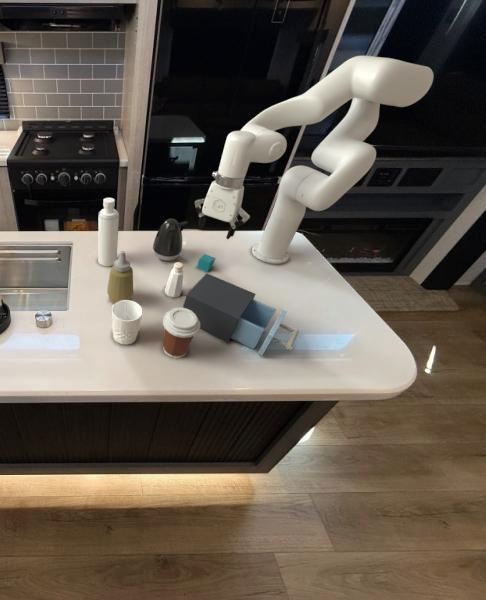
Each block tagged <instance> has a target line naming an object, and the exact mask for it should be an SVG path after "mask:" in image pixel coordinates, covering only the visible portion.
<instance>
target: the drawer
mask: <svg viewBox="0 0 486 600" xmlns="http://www.w3.org/2000/svg"><path fill="white" fill-rule="evenodd" d="M276 310H277V308H274V307H272V306H270V305H267V304H265V303H262V302H260V301H258V300H256V299H252V301H251V302H250V304H249V305H248V307H247V308H246V310H245V311H244V312H243V314H242V315H241V317H240V318H239V320H238V322H237V324H236V327H235V329H234V331H233V333H232V336H231V339H232V340H234V341H236V342H238V343H240V344H242V345H244V346H246V347H248V348H250V349H252V350H254V349H255V348H256V346H257V345H258V343H259V341H260V339H261V338H262V336H263V334H264V332H265V331H266V329H267V327H268V326H269V323H270V322H271V320H272V318H273V317H274V314H275V313H276ZM287 312H288V311H287V310H285V309H282V310H281V311H280V313H279V315H278V317H277V318H276V319H275V322H274V323H273V325H272V327H271V328H270V330H269V332H268V334H267V335H266V338H265V340H264V341H263V343H262V344H261V346H260V348H259V350H258V352H257V355H258V356H260V357H263V355H264V354H265V352H266V351H267V349H268V347H269V345H270V343H271V341H274V342H276V343H278V344H280V345H282V346H283V347H285V349H286V350H292V348H293V346H294V344H295V343H296V340H297V338H298V336H299V334H300V330H299V329H298V328H292V327H289V326H287V325H285V324H282V323H283V320H284V318H285V316H286V315H287ZM279 328H282V329H284V330H286V331H288V332H291V334H290V335H289V338H288V339H287V342H286V341H283V340H281V339H279V338H276V337H275V334H276V333H277V331H278V329H279Z"/></svg>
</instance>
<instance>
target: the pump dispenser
mask: <svg viewBox="0 0 486 600" xmlns="http://www.w3.org/2000/svg"><path fill="white" fill-rule="evenodd" d="M186 225H188V221H182V222H179V221H178V220H177V219H176V218H168V219H166V220H164V222H163V223H162V224H161V225H160V227H159V228H158V230H157V232H156V234H155V237H154V241H153V245H152V250H153V252H154V255H155V256H156V257H157V259H159V260H161V261H164V262H170V261H171V262H172V261H174V260H175V259H177V258H178V256H179V255H180V254H181V252H182V249H183V233H182V227H184V226H186Z"/></svg>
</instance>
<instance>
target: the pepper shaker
mask: <svg viewBox="0 0 486 600" xmlns="http://www.w3.org/2000/svg"><path fill="white" fill-rule="evenodd" d="M183 269H184V264H183V263H182V262H174V263H173V268H172V269H171V271H170V273H169V277H168V278H167V279H168V280H167V283H166V286H165V289H164V293H165V295H167V296H168V297H171V298H177V297H180V296H181V295H182V291H183V281H184V271H183Z"/></svg>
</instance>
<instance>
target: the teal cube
mask: <svg viewBox="0 0 486 600" xmlns="http://www.w3.org/2000/svg"><path fill="white" fill-rule="evenodd" d="M215 260H216V257H214V256H212V255H209V254H206V253H203V255H201V257H199V259H198V263H197V265H196V266H197V267H196V269H199V270H201V271H204V272H206V273H208V272H209V271H210V270H211V269H212V268H213V267H214V263H215Z"/></svg>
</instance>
